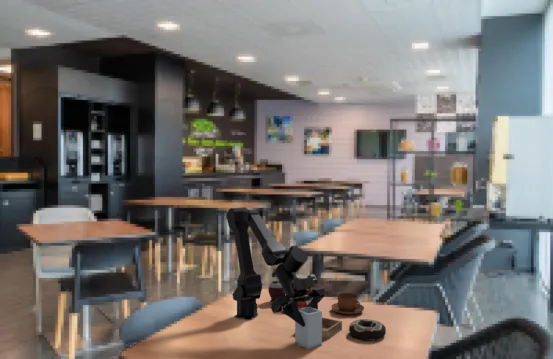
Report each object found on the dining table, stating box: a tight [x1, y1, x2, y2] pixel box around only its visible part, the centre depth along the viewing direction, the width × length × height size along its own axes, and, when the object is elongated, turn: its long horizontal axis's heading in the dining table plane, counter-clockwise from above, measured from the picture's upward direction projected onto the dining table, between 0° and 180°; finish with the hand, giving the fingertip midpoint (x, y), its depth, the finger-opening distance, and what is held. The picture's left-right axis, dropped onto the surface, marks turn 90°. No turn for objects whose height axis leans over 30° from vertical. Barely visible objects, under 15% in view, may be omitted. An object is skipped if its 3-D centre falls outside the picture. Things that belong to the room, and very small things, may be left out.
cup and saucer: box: [331, 292, 365, 315], centre depth 184 cm, size 12×12×6 cm
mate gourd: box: [267, 265, 286, 303], centre depth 195 cm, size 8×8×15 cm
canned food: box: [296, 274, 312, 308], centre depth 192 cm, size 8×8×11 cm
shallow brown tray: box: [322, 316, 343, 341], centre depth 162 cm, size 11×11×3 cm
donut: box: [348, 318, 387, 341], centre depth 159 cm, size 12×12×4 cm
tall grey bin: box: [294, 307, 323, 350], centre depth 151 cm, size 6×6×10 cm
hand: (311, 324), depth 150 cm, fingers closed on tall grey bin, 5 cm apart
